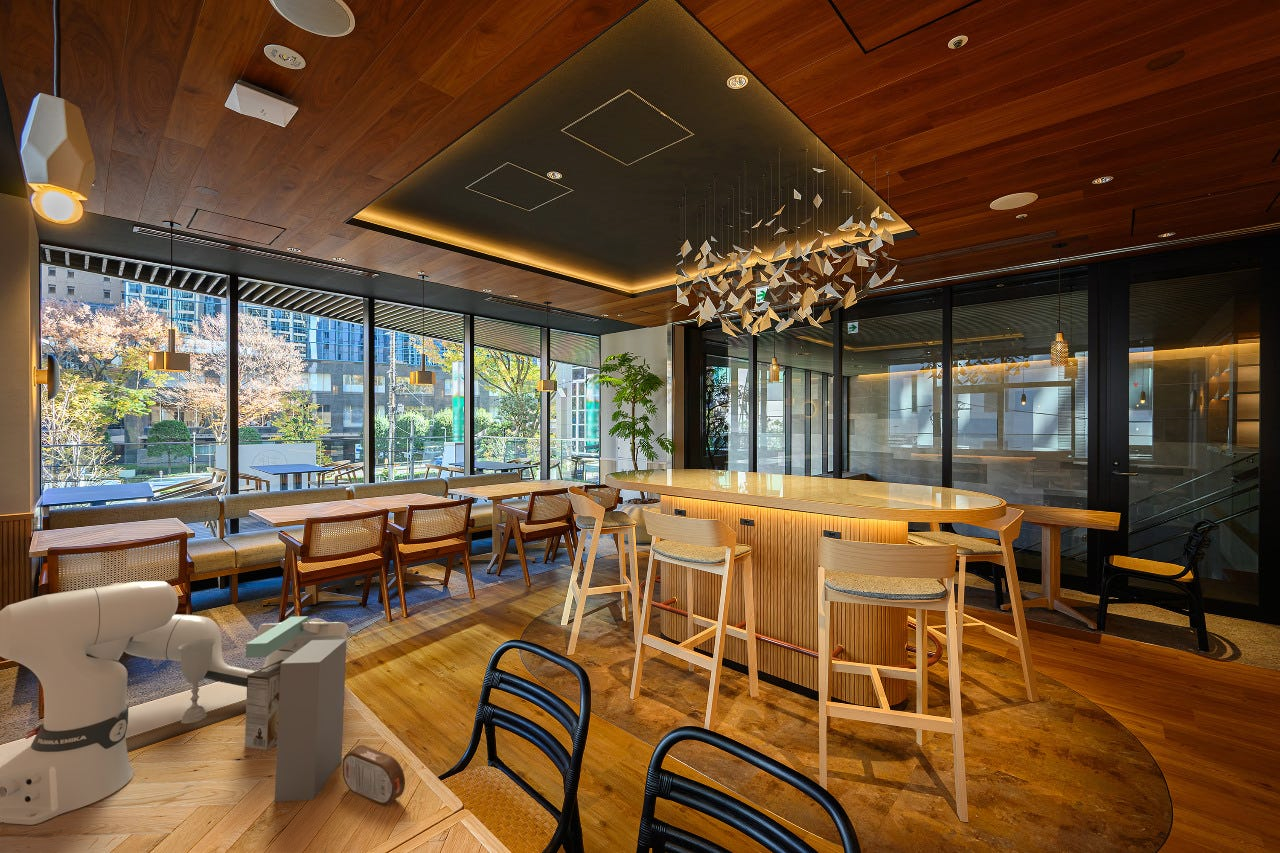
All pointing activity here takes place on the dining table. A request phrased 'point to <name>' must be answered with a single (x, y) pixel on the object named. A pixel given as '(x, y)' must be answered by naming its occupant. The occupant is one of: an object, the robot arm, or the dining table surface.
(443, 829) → the dining table surface
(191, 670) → the chalice
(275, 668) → the coffee box
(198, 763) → the dining table surface
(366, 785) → the tin
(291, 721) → the stand
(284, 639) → the mint green bar
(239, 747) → the dining table surface
